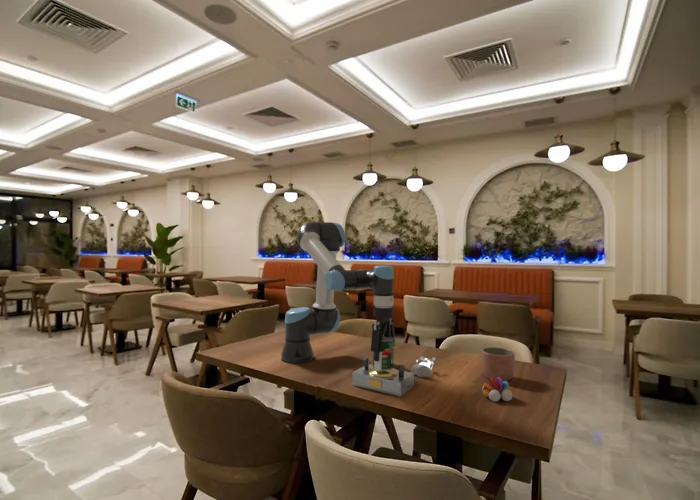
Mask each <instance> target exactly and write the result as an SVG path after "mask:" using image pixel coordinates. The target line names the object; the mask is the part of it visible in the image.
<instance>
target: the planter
mask: <svg viewBox="0 0 700 500" xmlns="http://www.w3.org/2000/svg"><path fill="white" fill-rule="evenodd" d="M515 358H516V353H515V351H514V350H512V349H508V348H505V347H504V348H503V347H495V346H491V347H484V348H482V349H481V362H482V363H481V364H482V372H483V375H484V376H485V377H486V378H487V379H489V380H490V378H493V379H494V380H495V379H496V378H497V377H500V378H501V379H502V381H507V382H508V381H510V380H512V379H513V377H514V374H515V360H516V359H515Z"/></svg>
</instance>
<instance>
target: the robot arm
mask: <svg viewBox="0 0 700 500" xmlns="http://www.w3.org/2000/svg"><path fill="white" fill-rule="evenodd" d="M296 240H297V241H296V242H297V243H298V245H299V246H300V248H301V249H302V250H303V251H304V252H307V254H308V255H309V256H310V257H311V259H312V260H313V261H314V263H315V264H316V265H317V274H316V275H317V276H316V289H315V291H316V294H315V302H314V303H313V304H312V309H310V307H307V306H302V307H301V306H300V307H294V308H291V309H289V310H287V311H286V312H285V318H284V328H285V329H284V345H283V348H282V352H281V355H280V358H281V360H282V361H283V362H286V363H289V364H292V363H293V364H299V363H300V364H302V363H306V362H310V361H312V360H314V350H313V347H312V344H311V335H318V334H328V333H331V332H334V331H336V330H337V329H338V327H339V326H340V323H341V315H340V313H341V312H340V310H339V309H338V308H337V305H336V304H335V303H334V297H335V291H346V290H347V291H348V290H363V289H369V290H373V306H374V307H373V317H374V318H376V321H375V323H372V325H371V330H372V331H371V342H370V343H371V344H370V345H371V346H370V351H371V352H372V353H373V352H374V369H376V370H381V369H382V352H380V351H381V345H382V340H383V336H384V337H393V338H394V346H396V345H395V341H396V340H395V339H396V338H395V326H394V325H395V319H394V318H393V317H394V307H393V306H394V302H395V297H394V291H395V289H394V288H395V287H394V283H395V282H394V281H395V276H394V267H393V266H391V265H375V266H373V267H374V268H373V269H368V268H363V269H361V268H360V269H348V270H347V269H345V267H343V265H342V264H341V263H340V262H339V261H338V259H337V254H338V253H339V252H340V251H341V248H342V247H343V246H344V245H345V243H346V232H345V229H344V228H343V226H342V225H341V224H340V223H338V222H332V221H331V222H327V221H326V222H325V221H323V222H322V221H309V222H305V223H304V224H302V225H301V226H299V228H298V230H297V234H296Z"/></svg>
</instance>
